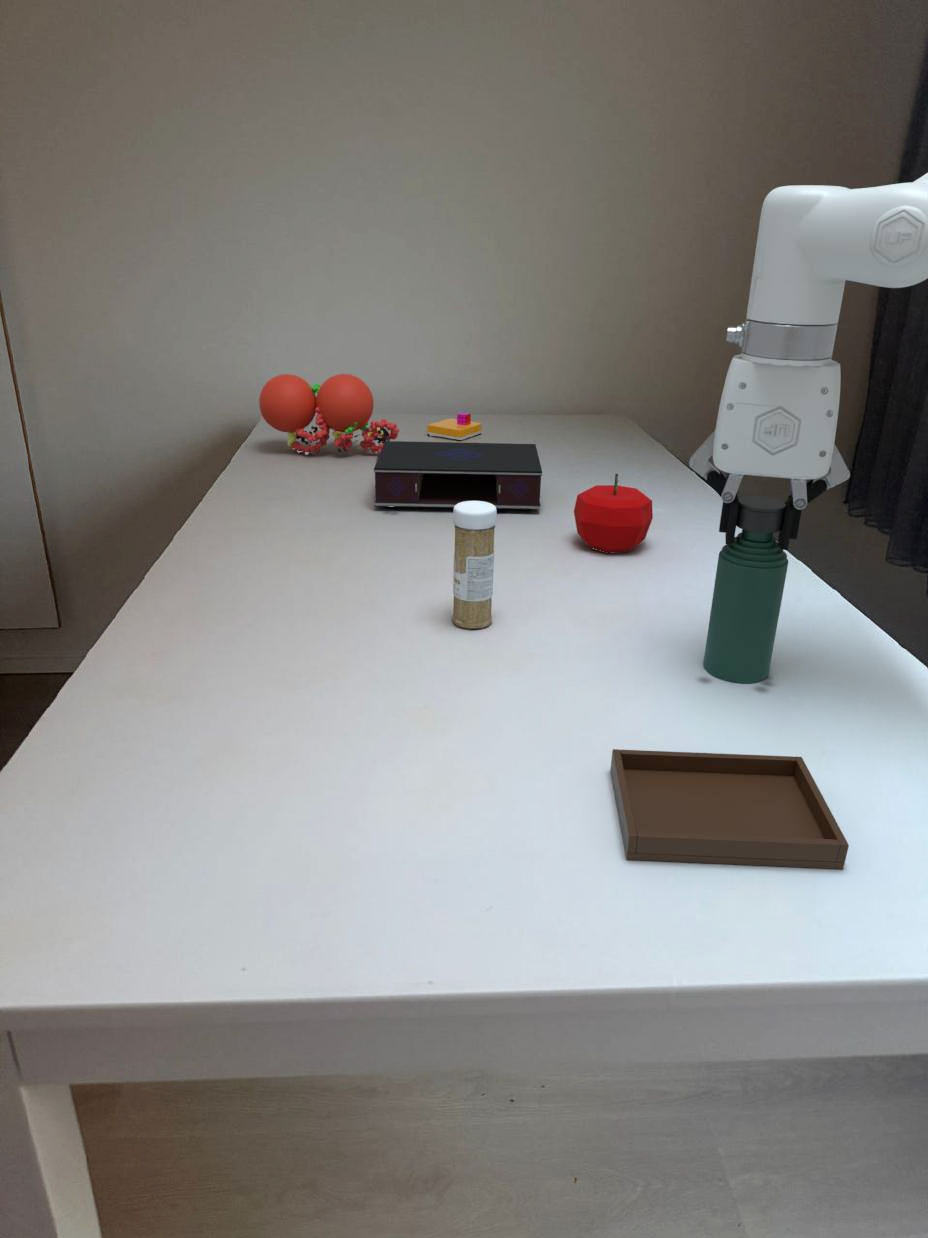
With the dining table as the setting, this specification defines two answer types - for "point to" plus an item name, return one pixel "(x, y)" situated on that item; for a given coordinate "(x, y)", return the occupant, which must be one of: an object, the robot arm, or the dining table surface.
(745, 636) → the flask
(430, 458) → the low media console
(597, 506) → the apple
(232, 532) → the dining table surface
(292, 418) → the molecule
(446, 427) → the orange slab with cube
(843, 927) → the dining table surface
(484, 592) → the spice jar
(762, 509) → the flask cap
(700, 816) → the tray
